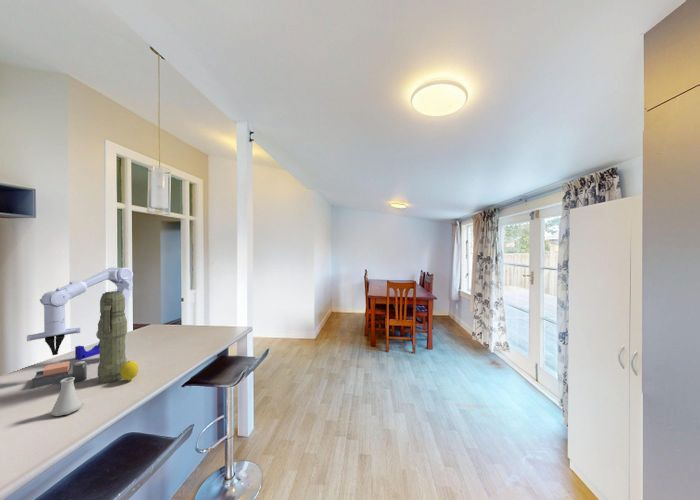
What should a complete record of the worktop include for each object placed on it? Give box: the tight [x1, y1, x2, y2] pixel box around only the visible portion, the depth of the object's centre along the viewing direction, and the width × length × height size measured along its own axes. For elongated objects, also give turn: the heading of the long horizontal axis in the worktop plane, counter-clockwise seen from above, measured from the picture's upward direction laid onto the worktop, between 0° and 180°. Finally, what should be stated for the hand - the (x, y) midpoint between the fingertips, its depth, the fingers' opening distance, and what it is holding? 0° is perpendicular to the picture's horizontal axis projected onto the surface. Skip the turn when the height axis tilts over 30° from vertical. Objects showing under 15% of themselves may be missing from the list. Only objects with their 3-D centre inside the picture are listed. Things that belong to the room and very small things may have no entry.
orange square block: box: [42, 360, 71, 376], centre depth 109 cm, size 6×6×2 cm
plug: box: [72, 360, 88, 384], centre depth 108 cm, size 4×4×7 cm
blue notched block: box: [74, 339, 100, 361], centre depth 134 cm, size 12×4×6 cm, turn 169°
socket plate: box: [30, 364, 73, 389], centre depth 109 cm, size 12×10×3 cm
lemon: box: [120, 360, 139, 382], centre depth 107 cm, size 6×6×8 cm
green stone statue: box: [97, 290, 128, 385], centre depth 109 cm, size 9×12×35 cm
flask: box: [49, 377, 85, 417], centre depth 88 cm, size 7×7×10 cm
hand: (55, 354), depth 109 cm, fingers closed
